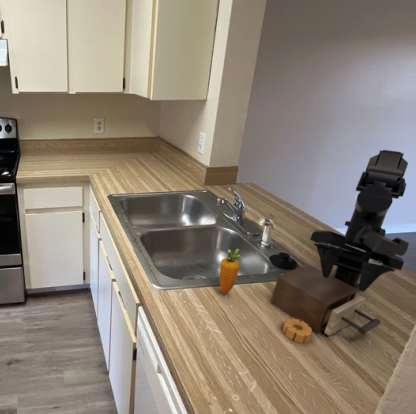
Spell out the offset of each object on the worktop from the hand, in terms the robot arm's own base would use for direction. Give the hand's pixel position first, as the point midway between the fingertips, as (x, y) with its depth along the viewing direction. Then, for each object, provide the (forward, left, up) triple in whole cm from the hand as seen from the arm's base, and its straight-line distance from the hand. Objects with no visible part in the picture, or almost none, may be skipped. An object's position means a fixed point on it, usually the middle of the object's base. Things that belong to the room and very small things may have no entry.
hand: (343, 284), depth 77 cm
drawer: (-3, -1, -13) cm, 13 cm away
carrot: (+12, -22, -14) cm, 28 cm away
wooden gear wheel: (+8, -3, -14) cm, 16 cm away
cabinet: (-3, -7, -14) cm, 16 cm away
